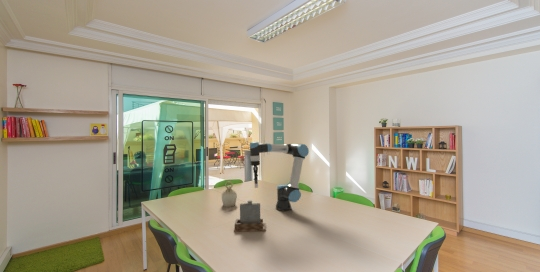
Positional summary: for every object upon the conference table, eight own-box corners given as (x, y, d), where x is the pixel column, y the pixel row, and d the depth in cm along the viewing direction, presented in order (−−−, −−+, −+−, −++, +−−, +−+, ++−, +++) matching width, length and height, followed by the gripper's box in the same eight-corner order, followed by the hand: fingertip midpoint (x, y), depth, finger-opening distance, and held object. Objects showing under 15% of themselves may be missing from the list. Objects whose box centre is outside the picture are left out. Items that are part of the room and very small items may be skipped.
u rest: (265, 224, 189) (265, 218, 189) (265, 231, 177) (265, 223, 177) (235, 225, 188) (235, 218, 188) (233, 231, 176) (233, 224, 176)
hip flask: (260, 225, 184) (260, 199, 184) (260, 227, 180) (260, 201, 180) (240, 225, 184) (239, 200, 184) (239, 227, 180) (239, 201, 180)
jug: (233, 207, 233) (233, 182, 232) (219, 207, 236) (218, 182, 235) (238, 203, 248) (238, 179, 247) (225, 202, 251) (224, 179, 250)
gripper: (250, 158, 208) (252, 182, 208) (250, 162, 183) (251, 189, 184) (259, 158, 208) (260, 181, 209) (259, 162, 183) (261, 189, 184)
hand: (256, 185), depth 196 cm, fingers open, 13 cm apart
